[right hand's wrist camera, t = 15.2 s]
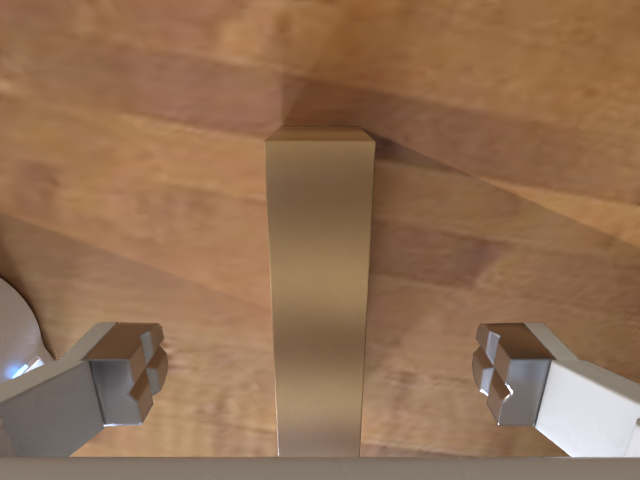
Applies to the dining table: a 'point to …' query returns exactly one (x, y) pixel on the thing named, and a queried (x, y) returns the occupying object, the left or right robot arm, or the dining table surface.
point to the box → (319, 283)
